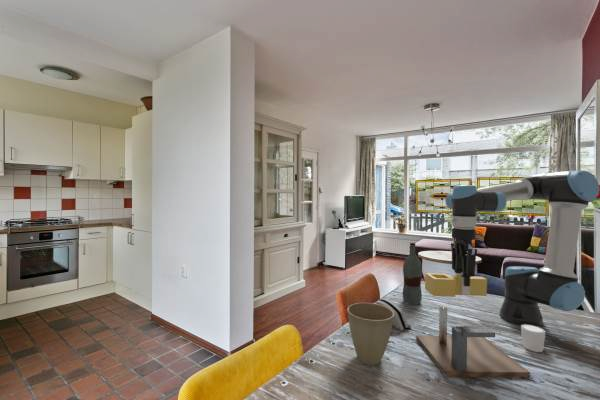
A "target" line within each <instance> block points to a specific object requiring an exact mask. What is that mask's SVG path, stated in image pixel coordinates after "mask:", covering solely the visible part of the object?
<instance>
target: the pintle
mask: <svg viewBox="0 0 600 400" xmlns="http://www.w3.org/2000/svg"><path fill="white" fill-rule="evenodd" d="M438 317H439V318H438V320H439V321H438V323H439V325H438V336H439V343H441V344H447V336H448V307H446V306H439V315H438Z"/></svg>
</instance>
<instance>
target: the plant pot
mask: <svg viewBox="0 0 600 400" xmlns="http://www.w3.org/2000/svg"><path fill="white" fill-rule="evenodd" d="M347 318H348V325H349V330H350V336H351V340H352V342H353V343H352V344H353V347H354V350H355V354H356V356H357V359H358V360H359V362H361V363H362V364H365V365H368V366H376V365H379V364H380V363H381V361H382V359H383V357H384V355H385V352H386V349H387V346H388V343H389V340H390V336H391V333H392V329H393V318H394V313H393V311H392V310H391V309H389V308H387V307H385V306H382V305H378V304H376V303H372V302H357V303H353V304H350V305H348V307H347Z"/></svg>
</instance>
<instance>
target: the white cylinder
mask: <svg viewBox="0 0 600 400" xmlns="http://www.w3.org/2000/svg"><path fill="white" fill-rule="evenodd" d="M520 330H521V331H520V332H521V333H520V334H521V343H522V344H521V345H522V346H523V348H524V349H525V350H526V349H527V350H529V351H531V352H535V353H542V352H543V351H544V345H545V339H546V332H547V331H546V330H545V329H544V328H542V327H541V326H538V327H537V326H533V325H527V324H524V325H520Z"/></svg>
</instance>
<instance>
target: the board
mask: <svg viewBox="0 0 600 400" xmlns="http://www.w3.org/2000/svg"><path fill="white" fill-rule="evenodd" d="M415 339H416V342H417V343H418V344H419V345H420V346H421V348H422V349H423V350H424V351H425V353H426V354H427V355H428V356H429V357H430V359H431V360H432V361H433V363H434V364H435V365H436V367H438V368H439V370H440V371H441V372H442V374H443V375H444V376H445V377H455V378H456V377H458V378H459V377H464V378H466V377H469V378H470V377H472V378H473V377H477V378H479V377H480V378H481V377H482V378H483V377H484V378H486V377H487V378H530V377H531V372H530V371H529V370H528V369H526V368H525V367H524V366H522V365H521V364H520V363H519V362H517V361H516V360H514V359H513V358H512V357H511V356H509V355H508V354H507V353H506V352H504V351H503V350H501V349H500V348H499V347H498V346H496V345H495V344H494V343H492V342H491V341H490V340H488V339H487V337H467V371H456V370H455V369H454V368H453V367H452V365H451V355H452V335H447V344H441V343H439V335H416V337H415Z"/></svg>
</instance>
